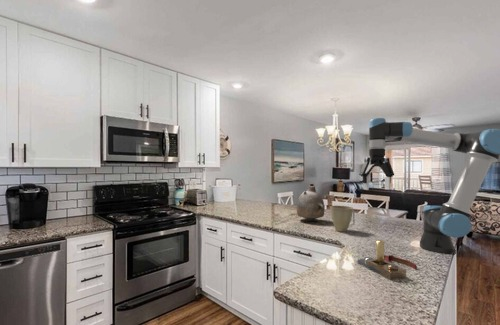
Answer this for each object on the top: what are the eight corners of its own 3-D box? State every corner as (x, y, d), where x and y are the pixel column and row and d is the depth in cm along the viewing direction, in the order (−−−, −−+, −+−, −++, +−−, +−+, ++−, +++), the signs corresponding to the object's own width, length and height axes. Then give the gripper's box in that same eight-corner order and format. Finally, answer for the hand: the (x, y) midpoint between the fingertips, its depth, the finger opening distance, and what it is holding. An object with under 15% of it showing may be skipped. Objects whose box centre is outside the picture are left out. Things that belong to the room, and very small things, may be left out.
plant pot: (349, 234, 166) (349, 209, 166) (326, 230, 175) (326, 207, 175) (355, 230, 178) (355, 206, 178) (334, 226, 186) (334, 204, 187)
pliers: (388, 254, 130) (388, 249, 130) (418, 270, 110) (418, 264, 110) (367, 255, 129) (367, 249, 129) (393, 271, 109) (393, 265, 109)
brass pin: (380, 268, 111) (380, 239, 111) (385, 270, 108) (386, 241, 108) (374, 268, 110) (374, 240, 110) (379, 271, 107) (380, 242, 107)
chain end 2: (380, 265, 114) (380, 256, 114) (406, 277, 101) (406, 267, 102) (365, 267, 111) (365, 257, 112) (390, 279, 99) (390, 269, 99)
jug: (290, 221, 203) (290, 183, 204) (301, 217, 221) (301, 182, 221) (320, 225, 189) (321, 184, 190) (330, 220, 207) (330, 183, 207)
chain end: (372, 261, 119) (372, 255, 119) (395, 272, 106) (395, 266, 106) (357, 262, 116) (357, 257, 116) (379, 274, 104) (379, 268, 104)
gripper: (390, 149, 141) (390, 188, 141) (352, 148, 134) (351, 189, 133) (402, 148, 134) (401, 189, 134) (362, 147, 127) (362, 190, 126)
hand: (376, 189), depth 133 cm, fingers open, 13 cm apart
